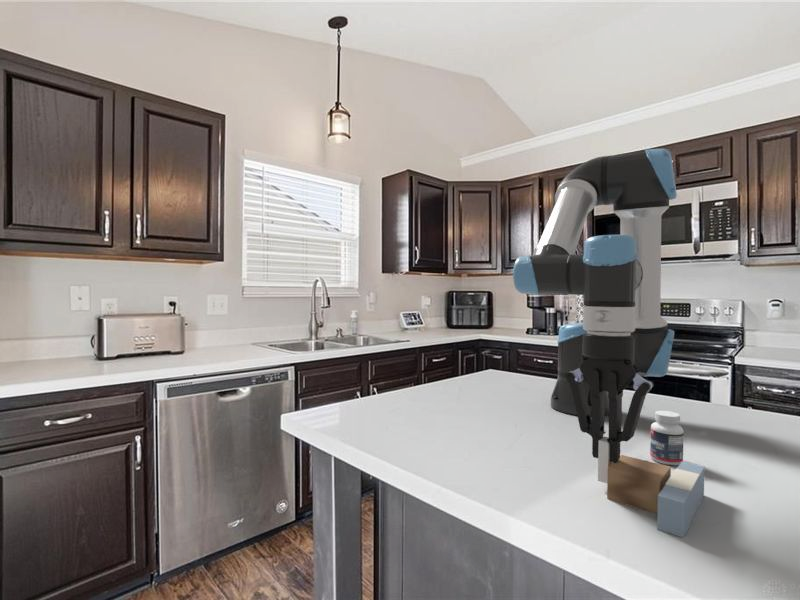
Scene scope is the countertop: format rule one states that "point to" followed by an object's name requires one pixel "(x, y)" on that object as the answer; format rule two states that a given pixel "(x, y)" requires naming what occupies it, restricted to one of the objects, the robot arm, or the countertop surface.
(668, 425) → the pill bottle
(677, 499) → the blue and cream block
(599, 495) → the countertop surface
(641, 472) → the walnut block
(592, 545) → the countertop surface
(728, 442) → the countertop surface
